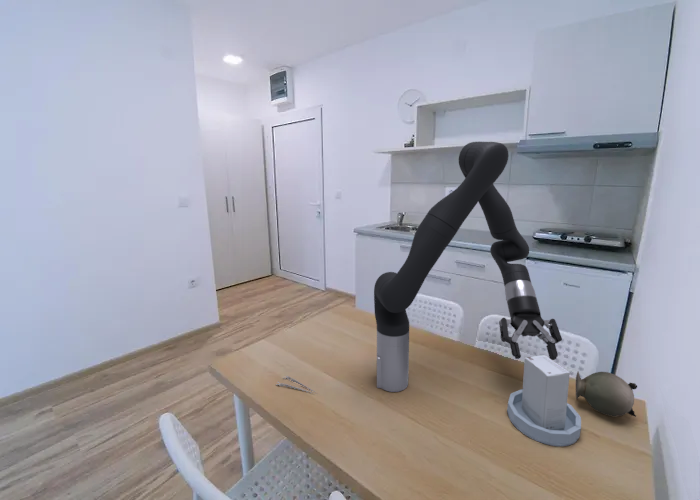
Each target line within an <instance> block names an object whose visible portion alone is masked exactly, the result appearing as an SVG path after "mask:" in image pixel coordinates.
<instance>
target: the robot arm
mask: <svg viewBox="0 0 700 500" xmlns="http://www.w3.org/2000/svg"><path fill="white" fill-rule="evenodd" d="M508 160H509V151H508V148H507V146H506V145H505V144H503V143H501V142H498V141H497V142H496V141H472V142H469V143H467V144H465V145H464V146H463V147H462V148H461V150H460V152H459V155H458V166H459V168H460V170H461V173H462V175H463V177H464V180H463V181H462V182H461V183H460V185H458V187H456V188H455V189H454V190H453V191H451V192H450V193H449V194H447V195H446V196H445V197H443V198H442V199H440V200H439V201H437V203H436V204H434V205H433V206H432V207H431V208H430V209H429V211H427V213H426V215H425V216H424V218H423V219H422V220H421V222H420V224H419V225H418V227H417V229H416V230H415V232H414V236H413V239H412V243H411V247H410V249H409V253H408V254H407V255H408V256H407V258H406V260H405V261H404V262H403V265H402V266H401V267H400V268H399V270H398V272H393V271H387V272H383V273H382V274H381V275H379V277H378V278H377V279H376V281H375V283H374V289H373V301H374V318H375V322H376V323H375V324H376V388H377V389H381V390H384V391H387V392H389V393H390V392H392V393H396V392H397V393H398V392H401V391H404V390H406V389H407V387H408V385H409V371H410V370H409V364H410V363H409V361H410V359H409V357H410V355H409V353H410V320H409V316H408V314H407V309H408V308H409V307H410V306H411V305H412V304H413V302H414V300H415V299H416V297H417V295H418V293H419V292H420V289H421V288H422V286H423V283H424V282H425V280H426V279H427V277H428V275H429V273H430V271H432V270H433V268H434V266H435V265H436V263H437V262H438V260H439V258H440V257H441V255H442V254H443V253H444V251H445V250H446V248H447V247H448V246H449V244H450V243H451V242H452V240H453V238H455V236H456V234H458V232H459V230H460V228H461V227H462V225H463V224H464V222H465V220H466V219H467V218H468V217H469V215H470V214H471V213H472V210H474V209H475V207H476V205H477V204H479V207H480V209H481V210H482V212H483V216H484V218H485V221H486V223H487V226H488V229H489V233H490V235H491V237H492V238H493V239H495V240H497V241H495V242H493V243H492V244H491V246H490V251H489V252H490V254H491V256H492V259H493V260H494V262H495V263H496V265H497V267H498V268H499V271H500V273H501V277H502V280H503V286H504V294H505V300H506V304H507V308H508V313H509V317H510V319H508V318H506V317H502V318H501V319H500V320H499V322H498V323H499V331H500V339H501V342H503V343H508V344H509V346H510V351H511V355H512V357H514V359H515V360H516V359H517V360H519V359H521V358H522V354H521V351H520V347H519V342H518V340H519V338H520V337H521V336H522V337H528V336H529V337H537V338H538V339H540V340H542V341H543V342H544V343H545V345H546V346H545V347H546V350H547V353H548V357H549V358H550V359H551V360H553V361H555V360H557V358H558V356H559V355H558V353H559V352H558V350H557V346H556V344H558V343H559V342H562V341H563V336H562V335H561V332H560V329H559V326H558V322H557V321H556V319H555V318H550V319H546V320H545V319H543V317H542V313H541V310H540V305H539V302H538V299H537V294H536V292H535V289H534V286H533V284H532V281H531V277H530V273H529V269H528V267H527V266H526V265H525V264H521V263H511V262H516V261H521V260H524V259H526V258H527V257H528V256H529V254H530V247H529V244H528V242H527V241H526V239H525V238H524V237H523V236H522V234H521V233H520V232H519V230H518V228H517V226H516V222H515V219H514V216H513V213H512V210H511V207H510V206H509V204H508V202H507V201H506V200H505V199H504V197H503V196H502V194H501V193H500V192H499V191H498V189H497V188H496V186H495V185H494V184H495V182H496V181H497V180H498V178H499V177H500V176H501V175H502V173H503V172H504V171H505V168H506V167H507V164H508ZM510 326H511V327H512V328H513V329H514V332H513V333H512V335H511V336H509V335H510V334H509V330H508V329H509V328H508V327H510ZM544 326H545V327H546V329H548V331H549V332H548V331H547V330H546V329H545V328H544Z"/></svg>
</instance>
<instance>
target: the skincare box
mask: <svg viewBox="0 0 700 500" xmlns="http://www.w3.org/2000/svg"><path fill="white" fill-rule="evenodd" d="M523 364H524V365H523V378H522V379H523V380H522V389H523V393H522V408H521V409H522V410H523V411H524V412H525V413H526V414H527V415H528V416H529V417H530V418H531V419H532V420H533V421H534V423H535V424H536V425H537V426H540V427H543V428H545V429H548V430H562V429H564V428H565V421H566V409H567V403H568V397H569V396H568V395H569V385H570V375H571V372H570V371H568V370H567V369H566V368H564V367H562V366H561V365H560V364H558V363H557V362H555V360H551V359H550V358H549V356H547V355H546V354H543V355H534V356H527V357H524V363H523Z"/></svg>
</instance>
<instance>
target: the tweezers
mask: <svg viewBox="0 0 700 500" xmlns="http://www.w3.org/2000/svg"><path fill="white" fill-rule="evenodd" d="M284 377H286V378H287V379H286V378H284ZM283 378H284V379H283ZM282 379H283V380H288V379H289V380H288V381H290V380H291V381H293V382H296V383H298V384H300V385H302V386H304V387H306V388H308V389H309V390H308V389H306V388H304V387H303V388H300V387H296V386H293V385H290V384H287V383H283V382H279V381H277V382H276V383H279V384H275V385H276V386H278V385H279V386H278V387H283V386H286V387H285V388H287V387H291V388H290V389H292V388H294V389H293V390H296V389H298V390H297V391H300V390H302V391H301V392H304V391H306V392H305V393H308V392H310V393H309V394H311V393H314V392H316V391H315V390H313V389H311V388H309V387H308V386H307V385H305V384H303V383H301V382H300V381H299V380H297V379H296V378H293V377H290V376H289V375H286V376H283V377H282ZM291 381H290V382H291ZM293 382H292V383H293ZM302 386H301V387H302ZM310 390H311V391H310ZM312 391H314V392H312Z"/></svg>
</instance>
